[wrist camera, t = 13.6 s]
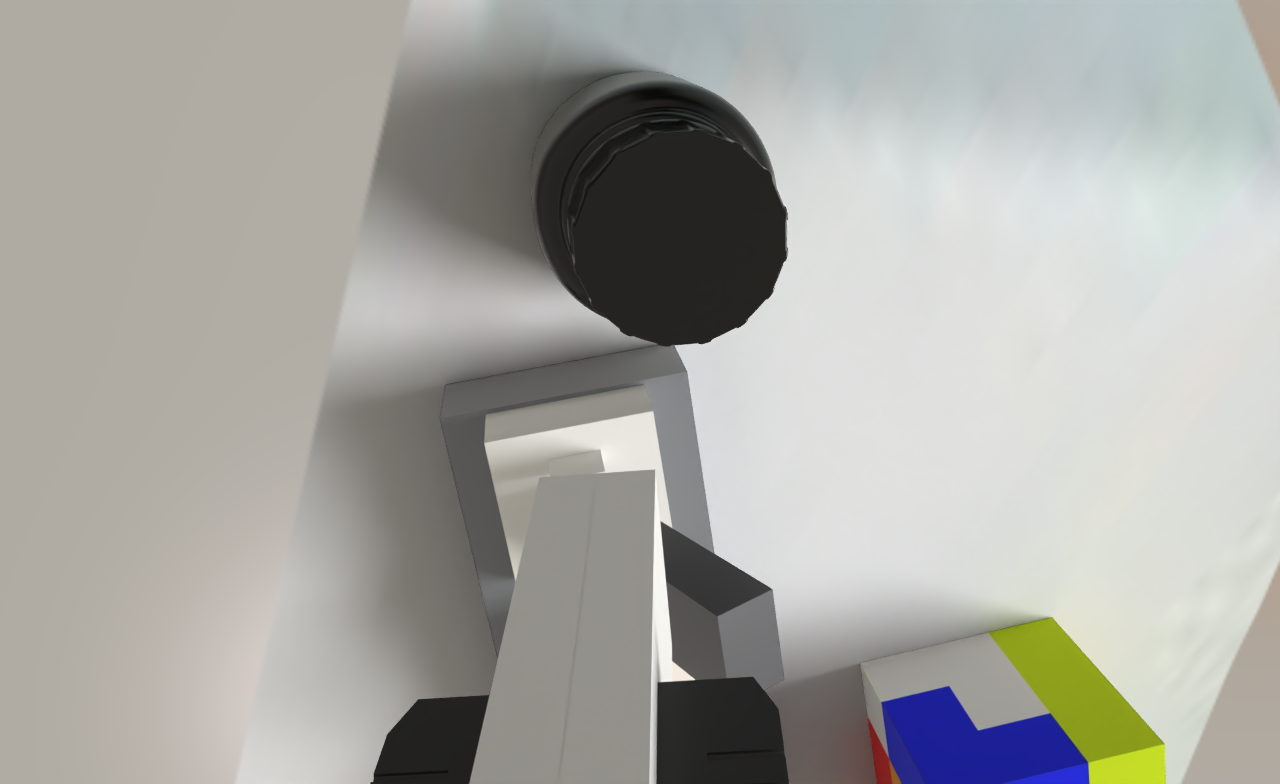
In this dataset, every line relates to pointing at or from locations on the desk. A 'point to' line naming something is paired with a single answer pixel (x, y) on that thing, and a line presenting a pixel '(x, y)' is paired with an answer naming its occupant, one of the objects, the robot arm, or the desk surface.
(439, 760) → the robot arm
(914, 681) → the puzzle toy
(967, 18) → the desk surface
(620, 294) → the ink bottle
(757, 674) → the block
